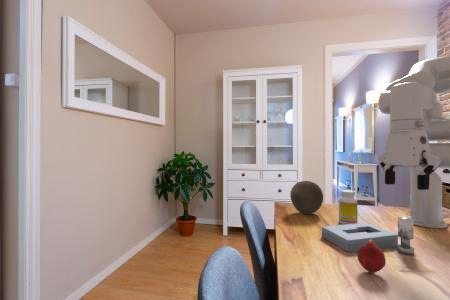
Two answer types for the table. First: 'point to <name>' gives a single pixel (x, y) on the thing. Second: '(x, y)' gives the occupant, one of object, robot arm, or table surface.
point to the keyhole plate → (358, 236)
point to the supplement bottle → (347, 207)
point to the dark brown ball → (306, 197)
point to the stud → (405, 234)
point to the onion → (371, 257)
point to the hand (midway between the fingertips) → (405, 186)
